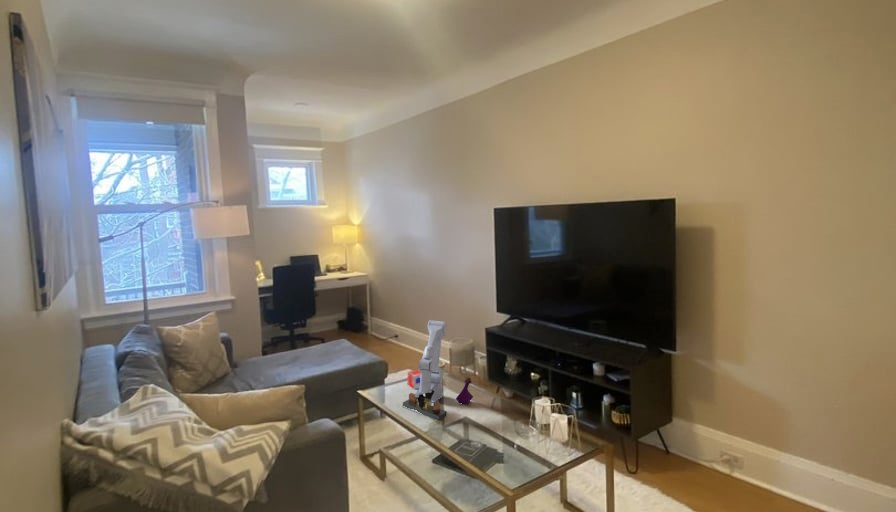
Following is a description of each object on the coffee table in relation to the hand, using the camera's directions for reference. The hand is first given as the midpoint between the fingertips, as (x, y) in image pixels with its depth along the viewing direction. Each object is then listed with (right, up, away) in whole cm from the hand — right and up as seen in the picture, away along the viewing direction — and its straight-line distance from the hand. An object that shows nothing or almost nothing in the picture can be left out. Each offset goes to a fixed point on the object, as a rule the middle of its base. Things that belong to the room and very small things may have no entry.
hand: (424, 405), depth 249 cm
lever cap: (0, -1, 0) cm, 1 cm away
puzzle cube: (-7, +1, +33) cm, 33 cm away
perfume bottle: (+21, -3, +12) cm, 25 cm away
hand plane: (0, -3, 0) cm, 3 cm away
